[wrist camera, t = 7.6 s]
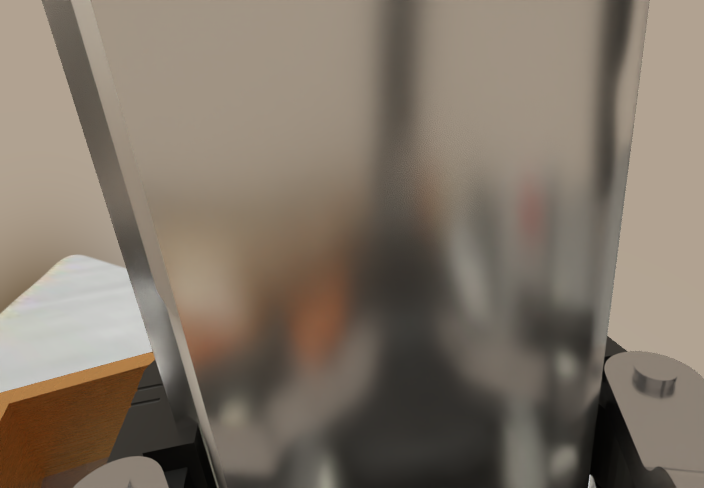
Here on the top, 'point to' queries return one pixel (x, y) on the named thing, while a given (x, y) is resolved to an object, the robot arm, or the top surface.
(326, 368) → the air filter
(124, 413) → the dock
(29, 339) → the top surface
